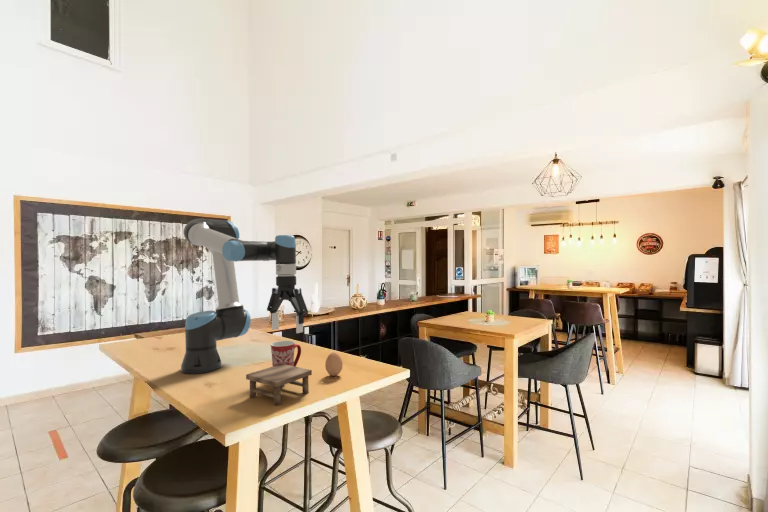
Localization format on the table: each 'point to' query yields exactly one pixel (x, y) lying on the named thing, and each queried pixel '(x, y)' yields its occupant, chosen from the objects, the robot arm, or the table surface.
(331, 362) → the egg
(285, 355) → the mug
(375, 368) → the table surface
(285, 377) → the stool
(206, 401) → the table surface
